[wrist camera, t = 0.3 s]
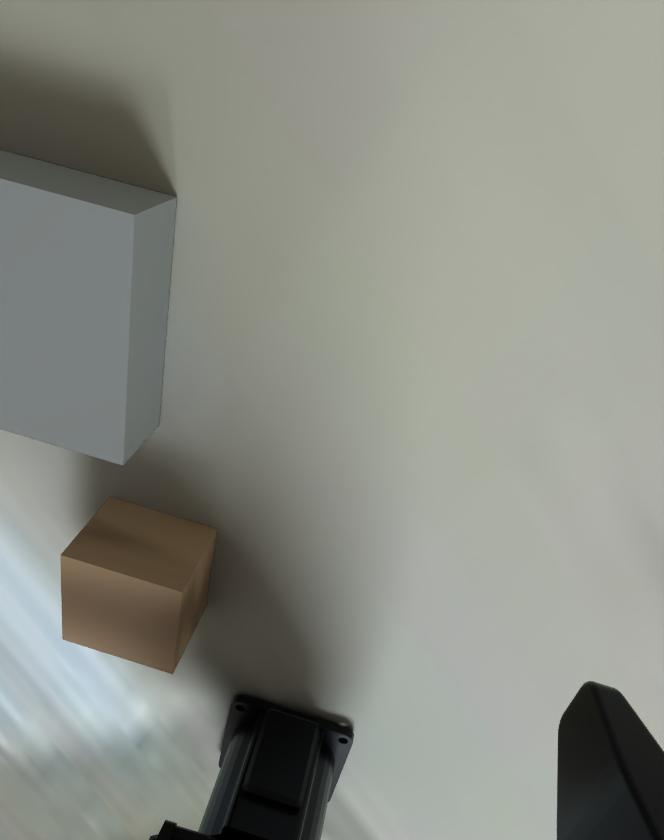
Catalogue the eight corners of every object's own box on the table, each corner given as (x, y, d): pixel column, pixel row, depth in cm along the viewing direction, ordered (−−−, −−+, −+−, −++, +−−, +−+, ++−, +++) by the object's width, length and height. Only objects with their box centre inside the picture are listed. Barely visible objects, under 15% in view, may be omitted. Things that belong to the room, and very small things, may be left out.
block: (206, 604, 30) (172, 674, 26) (108, 574, 30) (62, 639, 27) (218, 526, 27) (182, 592, 24) (111, 495, 27) (60, 555, 24)
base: (159, 425, 25) (123, 465, 22) (-48, 364, 25) (-107, 397, 23) (177, 197, 20) (134, 214, 18) (-76, 128, 21) (-154, 136, 18)
